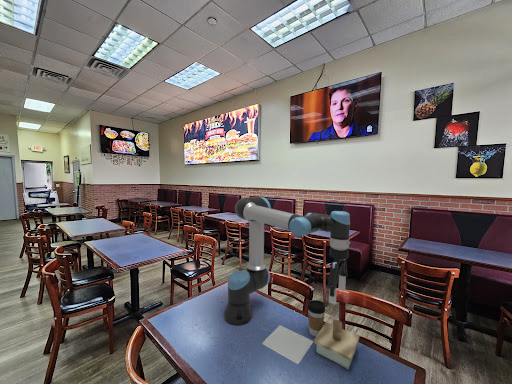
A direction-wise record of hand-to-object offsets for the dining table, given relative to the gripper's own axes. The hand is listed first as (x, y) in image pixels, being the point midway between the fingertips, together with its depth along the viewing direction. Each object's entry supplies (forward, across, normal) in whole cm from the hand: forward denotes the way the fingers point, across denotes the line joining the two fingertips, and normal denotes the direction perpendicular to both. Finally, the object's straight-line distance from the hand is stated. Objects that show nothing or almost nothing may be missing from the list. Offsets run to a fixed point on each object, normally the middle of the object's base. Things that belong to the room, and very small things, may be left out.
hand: (337, 296), depth 93 cm
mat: (+25, -9, +18) cm, 32 cm away
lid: (+20, 0, 0) cm, 20 cm away
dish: (+25, 0, 0) cm, 25 cm away
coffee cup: (+25, +6, +11) cm, 28 cm away
